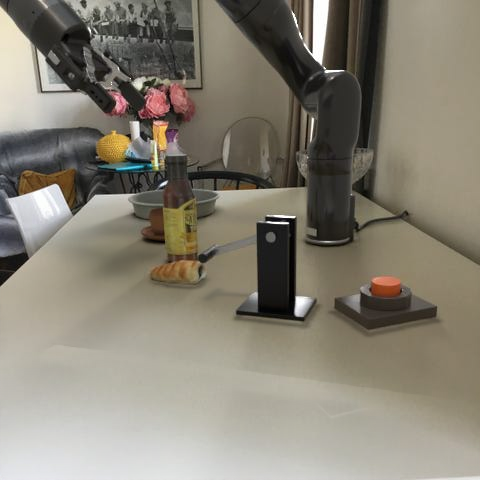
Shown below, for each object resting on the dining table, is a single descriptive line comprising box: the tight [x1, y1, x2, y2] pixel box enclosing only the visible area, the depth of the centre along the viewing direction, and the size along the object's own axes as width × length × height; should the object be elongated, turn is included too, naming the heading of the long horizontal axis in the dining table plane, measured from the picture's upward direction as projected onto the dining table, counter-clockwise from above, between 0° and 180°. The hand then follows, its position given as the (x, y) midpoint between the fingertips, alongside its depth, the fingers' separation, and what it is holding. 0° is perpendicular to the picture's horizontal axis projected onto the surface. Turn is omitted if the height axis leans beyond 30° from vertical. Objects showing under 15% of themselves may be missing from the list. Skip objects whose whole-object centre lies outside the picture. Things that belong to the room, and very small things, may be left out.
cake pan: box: [127, 188, 221, 220], centre depth 153 cm, size 25×25×4 cm
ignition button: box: [370, 276, 402, 296], centre depth 79 cm, size 4×4×2 cm
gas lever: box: [197, 220, 291, 264], centre depth 81 cm, size 13×6×2 cm, turn 71°
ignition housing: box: [333, 282, 438, 331], centre depth 80 cm, size 11×9×4 cm
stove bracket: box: [235, 214, 318, 323], centre depth 81 cm, size 10×8×14 cm
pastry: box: [149, 260, 207, 286], centre depth 97 cm, size 9×7×4 cm
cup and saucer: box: [140, 208, 165, 242], centre depth 126 cm, size 12×12×6 cm
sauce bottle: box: [162, 153, 199, 263], centre depth 107 cm, size 6×6×20 cm
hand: (128, 107), depth 81 cm, fingers open, 8 cm apart
